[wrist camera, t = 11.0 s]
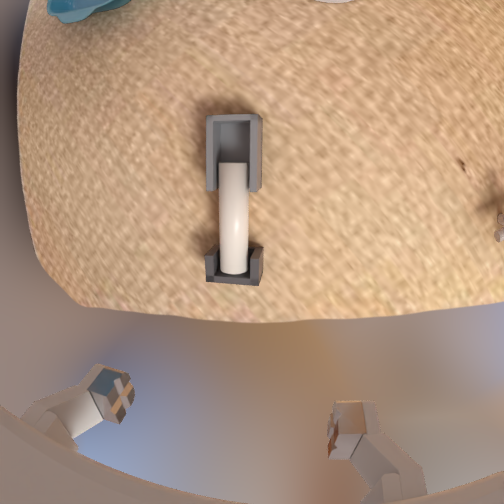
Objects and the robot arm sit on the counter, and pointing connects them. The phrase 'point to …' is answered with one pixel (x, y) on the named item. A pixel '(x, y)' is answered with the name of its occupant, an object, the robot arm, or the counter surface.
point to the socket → (246, 278)
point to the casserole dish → (80, 8)
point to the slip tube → (233, 216)
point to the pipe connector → (500, 234)
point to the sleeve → (233, 146)
